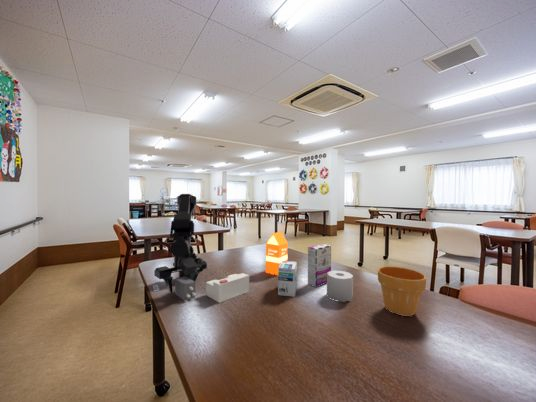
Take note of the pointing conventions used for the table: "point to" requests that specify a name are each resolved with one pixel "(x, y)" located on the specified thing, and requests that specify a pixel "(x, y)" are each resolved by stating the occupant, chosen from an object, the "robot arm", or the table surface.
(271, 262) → the orange juice
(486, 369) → the table surface
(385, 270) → the flower pot
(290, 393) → the table surface
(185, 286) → the plug
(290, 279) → the light bulb box
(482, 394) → the table surface
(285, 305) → the table surface
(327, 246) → the candy bar box
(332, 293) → the toilet tissue
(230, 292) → the socket
